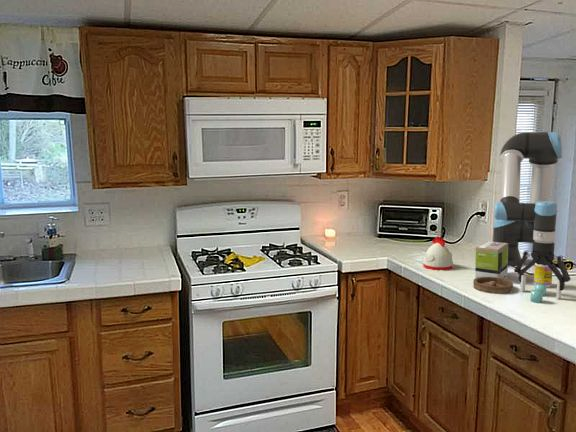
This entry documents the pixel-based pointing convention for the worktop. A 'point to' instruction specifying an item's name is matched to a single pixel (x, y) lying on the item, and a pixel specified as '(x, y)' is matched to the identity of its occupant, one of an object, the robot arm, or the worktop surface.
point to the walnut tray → (493, 285)
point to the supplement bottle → (542, 275)
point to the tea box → (491, 260)
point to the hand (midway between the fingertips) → (540, 294)
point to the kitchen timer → (438, 256)
